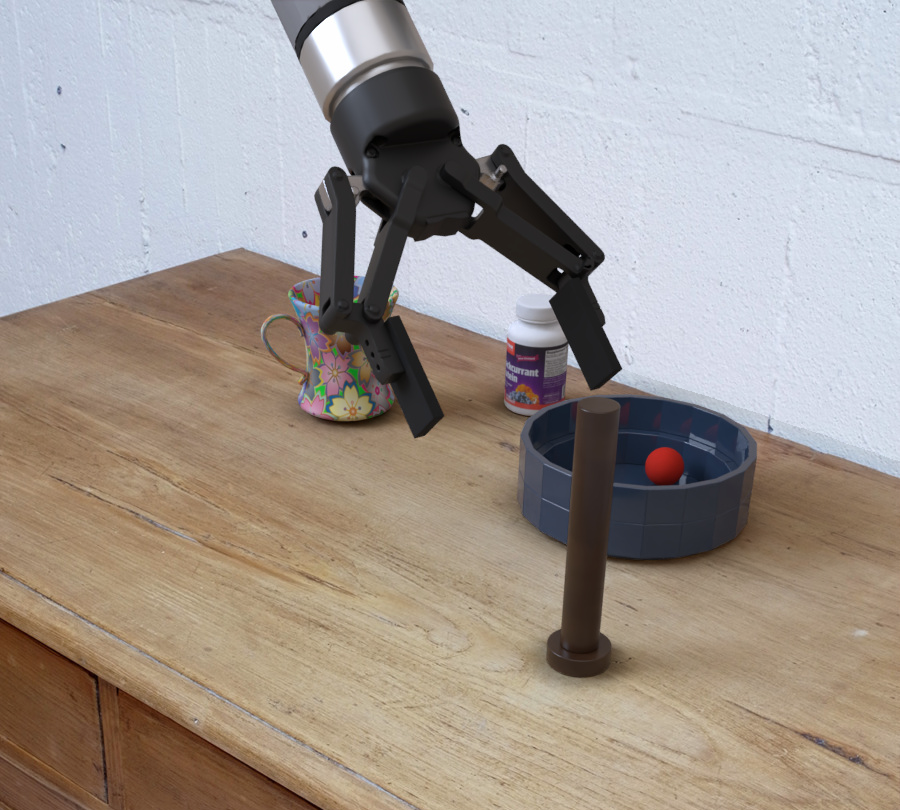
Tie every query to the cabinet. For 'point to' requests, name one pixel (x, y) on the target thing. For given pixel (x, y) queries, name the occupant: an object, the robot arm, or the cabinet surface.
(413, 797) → the cabinet surface
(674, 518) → the bowl
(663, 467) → the red ball
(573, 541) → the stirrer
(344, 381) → the mug
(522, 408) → the pill bottle
